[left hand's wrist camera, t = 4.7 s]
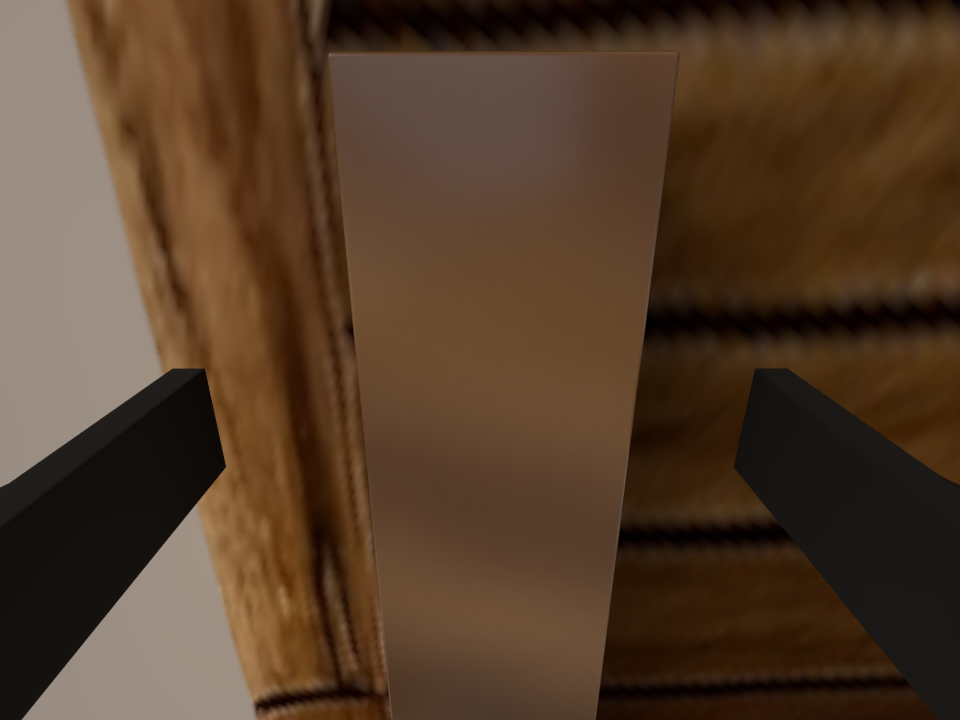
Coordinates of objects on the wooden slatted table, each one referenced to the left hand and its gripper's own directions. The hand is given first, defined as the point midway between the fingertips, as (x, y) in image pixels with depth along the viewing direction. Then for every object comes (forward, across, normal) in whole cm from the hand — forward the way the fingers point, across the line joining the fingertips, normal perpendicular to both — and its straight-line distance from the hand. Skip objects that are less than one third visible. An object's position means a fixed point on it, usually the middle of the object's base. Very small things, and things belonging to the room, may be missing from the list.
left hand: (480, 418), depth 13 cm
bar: (+5, 0, -27) cm, 28 cm away
